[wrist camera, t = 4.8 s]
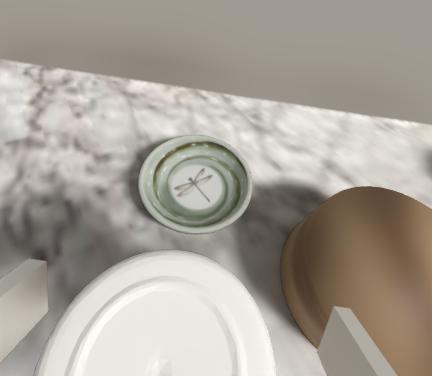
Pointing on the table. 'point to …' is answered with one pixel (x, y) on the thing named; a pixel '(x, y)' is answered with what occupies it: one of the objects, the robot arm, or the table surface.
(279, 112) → the table surface
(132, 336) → the sprinkles bottle
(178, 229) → the saucer
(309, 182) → the table surface
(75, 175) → the table surface
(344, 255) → the walnut pedestal
